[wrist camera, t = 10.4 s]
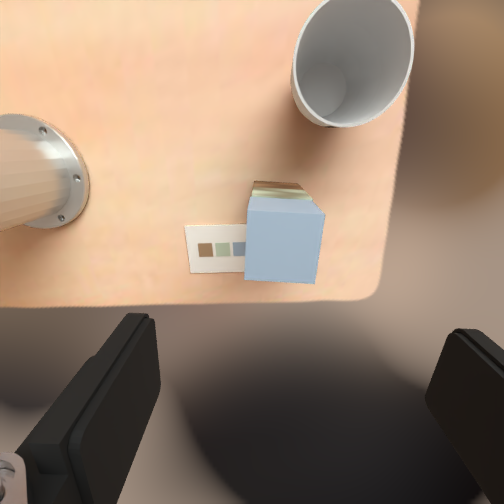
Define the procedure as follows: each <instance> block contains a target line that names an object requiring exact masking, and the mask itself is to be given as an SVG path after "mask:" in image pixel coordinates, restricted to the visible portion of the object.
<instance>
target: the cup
mask: <svg viewBox="0 0 504 504" xmlns="http://www.w3.org/2000/svg"><path fill="white" fill-rule="evenodd" d="M413 56H414V37H413V31H412V27H411V24H410V21H409V18H408V16H407V14H406V12H405V11H404V9H403V8H402V6H401V5H400V4H399V3H398V2H397V1H396V0H324V1H323V2H322V3H320V4H319V5H318V6H317V7H316V8H315V10H314V11H313V12H312V13H311V14H310V16H309V17H308V19H307V20H306V22H305V24H304V25H303V27H302V29H301V31H300V34H299V36H298V39H297V42H296V46H295V51H294V56H293V63H292V69H291V90H292V95H293V98H294V101H295V103H296V105H297V107H298V109H299V110H300V112H301V113H302V114H303V115H304V116H305V117H306V118H307V119H308V120H310V121H311V122H313V123H315V124H317V125H320V126H323V127H353V126H358V125H362V124H365V123H367V122H369V121H371V120H373V119H375V118H377V117H378V116H380V115H381V114H382V113H383V112H385V111H386V110H387V109H388V108H389V107H390V106H391V105H392V104H393V103H394V101H395V100H396V99H397V98H398V96H399V95H400V93H401V92H402V90H403V88H404V86H405V84H406V82H407V80H408V77H409V74H410V71H411V67H412V63H413Z"/></svg>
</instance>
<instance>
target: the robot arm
mask: <svg viewBox="0 0 504 504" xmlns="http://www.w3.org/2000/svg"><path fill="white" fill-rule="evenodd" d="M80 178H81V179H80ZM88 195H89V180H88V174H87V170H86V167H85V164H84V162H83V160H82V158H81V156H80V154H79V152H78V151H77V149H76V148H75V146H74V145H73V143H72V142H71V141H70V140H69V139H68V138H67V137H66V136H65V135H64V134H63V133H62V132H61V131H59V130H58V129H57V128H55V127H54V126H53V125H51V124H49V123H47V122H45V121H44V120H41V119H38V118H36V117H33V116H28V115H22V114H3V115H0V231H3V230H6V229H9V228H12V227H16V226H19V225H22V224H23V225H26V226H29V227H32V228H39V229H52V228H56V227H60V226H62V225H65V224H67V223H69V222H71V221H72V220H74V219H75V218H77V216H78V215H79V214H80V213H81V212H82V210H83V209H84V207H85V205H86V202H87V199H88ZM160 385H161V381H160V370H159V360H158V350H157V340H156V330H155V321H154V319H151V318H149V315H148V314H144V313H128V314H127V315H126V316H125V317H124V318H123V320H122V321H121V322H120V324H119V325H118V326H117V327H116V329H115V330H114V331H113V333H112V334H111V335H110V337H109V338H108V339H107V341H106V342H105V343H104V345H103V346H102V347H101V348H100V350H99V351H98V352H97V354H96V355H95V356H92V357H90V358H89V359H88V360H87V361H86V362H85V364H84V365H83V366H82V368H81V369H80V370H79V371H78V373H77V374H76V375H75V376H74V378H73V379H72V380H71V382H70V383H69V384H68V385H67V387H66V388H65V389H64V390H63V392H62V393H61V394H60V396H59V397H58V398H57V399H56V401H55V402H54V403H53V405H52V406H51V407H50V408H49V410H48V411H47V412H46V413H45V415H44V416H43V417H42V418H41V420H40V421H39V422H38V424H37V425H36V426H35V427H34V429H33V430H32V431H31V432H30V434H29V435H28V437H27V438H26V439H25V440H24V442H23V443H22V444H21V445H20V447H19V448H18V449H17V451H16V452H15V453H10V452H1V453H0V504H117V501H118V498H119V496H120V493H121V491H122V488H123V486H124V483H125V481H126V478H127V475H128V473H129V470H130V468H131V465H132V462H133V460H134V457H135V455H136V452H137V450H138V447H139V444H140V441H141V439H142V437H143V434H144V431H145V429H146V426H147V424H148V421H149V419H150V416H151V413H152V411H153V408H154V406H155V403H156V401H157V398H158V395H159V392H160ZM425 401H426V404H427V407H428V409H429V410H430V412H431V413H432V415H433V416H434V418H435V419H436V421H437V422H438V424H439V425H440V427H441V428H442V430H443V431H444V433H445V434H446V436H447V437H448V439H449V440H450V442H451V444H452V445H453V446H454V448H455V450H456V451H457V453H458V454H459V455H460V457H461V459H462V460H463V462H464V463H465V465H466V466H467V468H468V469H469V471H470V472H471V474H472V475H473V477H474V478H475V480H476V482H477V483H478V485H479V486H480V488H481V489H482V490H483V492H484V494H485V495H486V497H487V498H488V500H489V501H490V503H491V504H504V350H503V349H502V348H501V347H500V346H498V345H497V344H496V343H495V342H493V341H492V340H491V339H490V338H489V337H487V336H486V335H485V334H484V333H483V332H481V331H479V330H476V329H460V328H458V329H455V330H454V331H453V332H452V333H450V334H449V335H448V337H447V339H446V341H445V344H444V347H443V350H442V352H441V355H440V357H439V360H438V363H437V366H436V368H435V371H434V373H433V376H432V378H431V381H430V384H429V386H428V389H427V392H426V395H425Z"/></svg>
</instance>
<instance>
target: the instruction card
mask: <svg viewBox="0 0 504 504" xmlns="http://www.w3.org/2000/svg"><path fill="white" fill-rule="evenodd" d="M246 228H247V224H220V225H186V226H185V234H186V241H187V249H188V256H189V264H190V271H191V273H218V272H245V250H246Z"/></svg>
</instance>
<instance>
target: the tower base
mask: <svg viewBox="0 0 504 504" xmlns="http://www.w3.org/2000/svg"><path fill="white" fill-rule="evenodd" d="M252 197H262V198H280V199H297V200H312V201H313V199H312V198H311V197H310V196H309V195H308V194H307V192H306V191H305V190H304V189H303V188H302V187H301V186H300V185H299V184H296V183H280V182H263V181H254V186H253V191H252Z"/></svg>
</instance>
